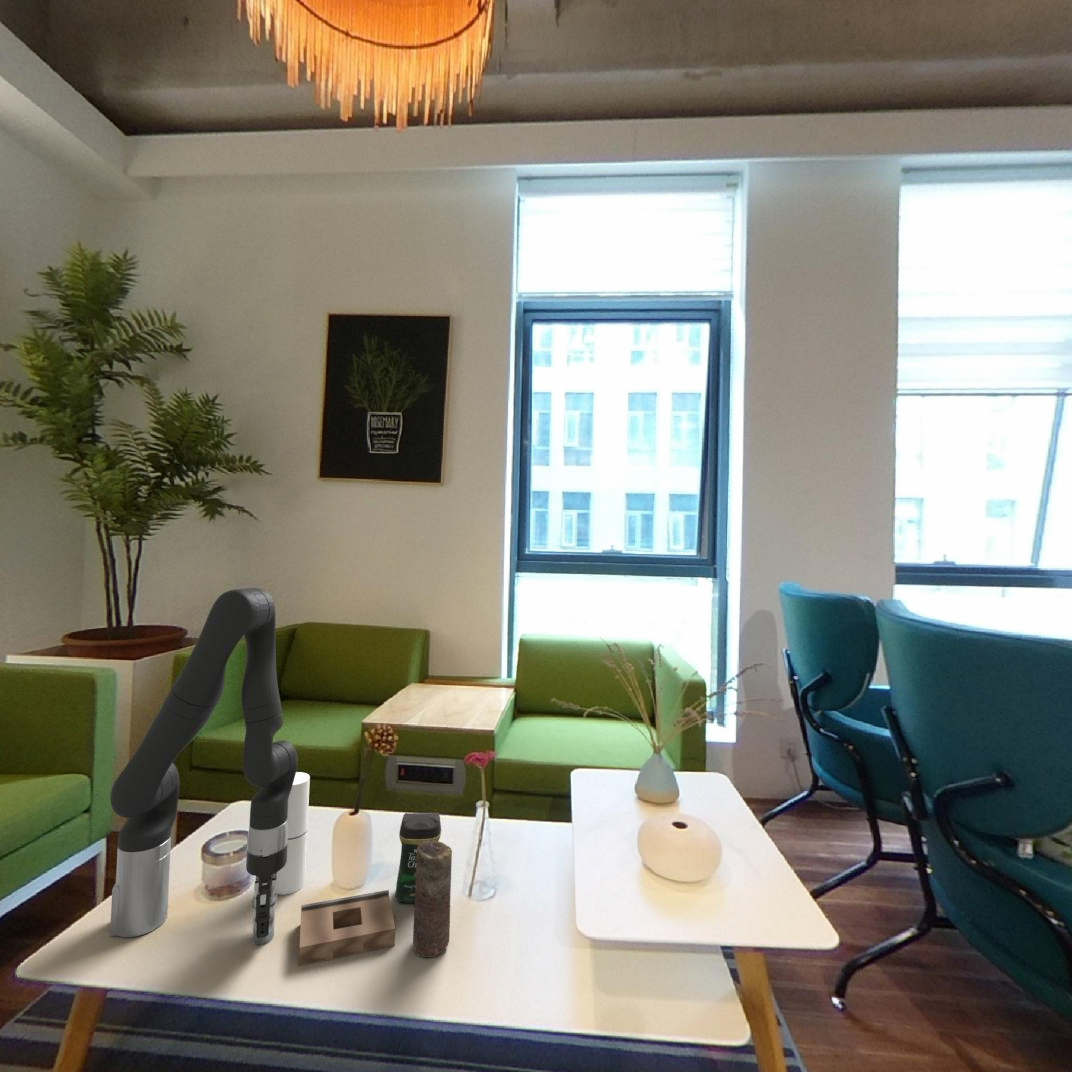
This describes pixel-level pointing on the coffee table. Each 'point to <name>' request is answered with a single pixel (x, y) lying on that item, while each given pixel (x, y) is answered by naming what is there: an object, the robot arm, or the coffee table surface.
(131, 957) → the coffee table surface
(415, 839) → the coffee jar
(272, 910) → the salt shaker
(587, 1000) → the coffee table surface
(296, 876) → the cylindrical container
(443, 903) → the candle
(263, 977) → the coffee table surface
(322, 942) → the jig
